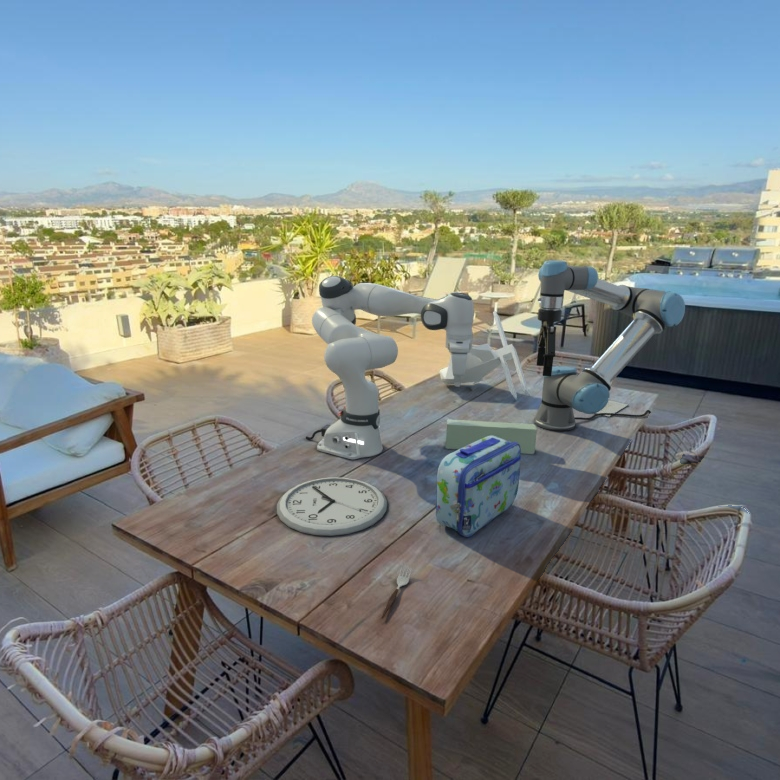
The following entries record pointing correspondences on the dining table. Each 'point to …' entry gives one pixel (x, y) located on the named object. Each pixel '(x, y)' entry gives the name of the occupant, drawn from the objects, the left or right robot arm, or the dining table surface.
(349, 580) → the dining table surface
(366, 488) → the wall clock
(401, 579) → the fork
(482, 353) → the white plastic object
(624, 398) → the dining table surface
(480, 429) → the sage box
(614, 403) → the invitation card
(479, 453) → the lunch box
